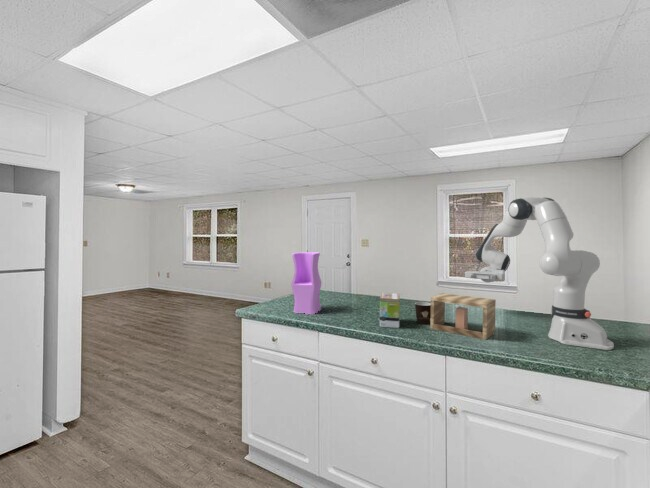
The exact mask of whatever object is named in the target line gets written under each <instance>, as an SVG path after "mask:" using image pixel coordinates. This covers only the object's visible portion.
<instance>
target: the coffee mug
mask: <svg viewBox="0 0 650 488" xmlns="http://www.w3.org/2000/svg"><path fill="white" fill-rule="evenodd" d="M414 307H415V315H416V317H415V318H416V323H417V324H419V325H429V324H431V302H428V301H427V302H426V301H418V302H415V303H414Z"/></svg>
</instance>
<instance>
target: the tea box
mask: <svg viewBox="0 0 650 488" xmlns="http://www.w3.org/2000/svg"><path fill="white" fill-rule="evenodd" d="M379 298H380V299H379V327H380V328H393V329H399V328H400V313H401V308H400V307H401V305H400V304H401V299H400V293H390V292H389V293H388V292H381V293H380V297H379Z"/></svg>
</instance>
